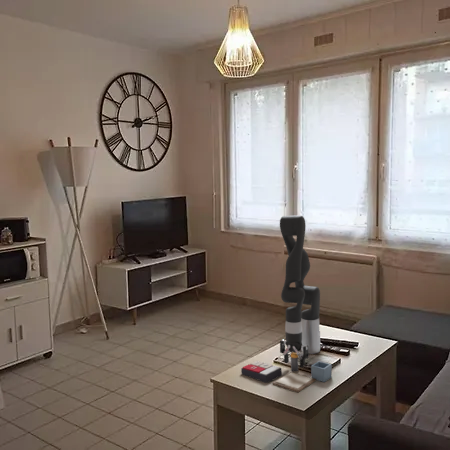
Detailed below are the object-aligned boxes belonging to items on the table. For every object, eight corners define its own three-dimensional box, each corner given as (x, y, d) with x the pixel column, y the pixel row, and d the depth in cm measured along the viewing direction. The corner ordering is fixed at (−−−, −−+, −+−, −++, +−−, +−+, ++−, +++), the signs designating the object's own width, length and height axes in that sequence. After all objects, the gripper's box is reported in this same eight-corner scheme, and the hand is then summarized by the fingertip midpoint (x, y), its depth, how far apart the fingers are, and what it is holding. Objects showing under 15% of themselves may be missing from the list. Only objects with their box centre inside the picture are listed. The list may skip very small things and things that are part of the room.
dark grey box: (256, 359, 235) (281, 366, 224) (257, 368, 235) (282, 375, 224) (240, 366, 227) (265, 374, 216) (241, 376, 227) (266, 383, 217)
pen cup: (318, 373, 224) (318, 361, 224) (331, 377, 220) (331, 364, 219) (311, 378, 219) (311, 365, 219) (324, 382, 215) (324, 369, 215)
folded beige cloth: (290, 373, 226) (290, 370, 226) (315, 380, 217) (315, 378, 217) (272, 384, 215) (272, 381, 215) (298, 392, 207) (298, 389, 207)
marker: (293, 368, 231) (293, 351, 230) (299, 370, 229) (299, 353, 228) (289, 370, 229) (289, 353, 228) (295, 372, 227) (295, 355, 226)
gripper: (311, 331, 225) (312, 365, 227) (285, 325, 234) (286, 358, 236) (302, 335, 219) (303, 371, 221) (276, 329, 229) (276, 363, 230)
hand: (294, 364), depth 229 cm, fingers open, 8 cm apart
